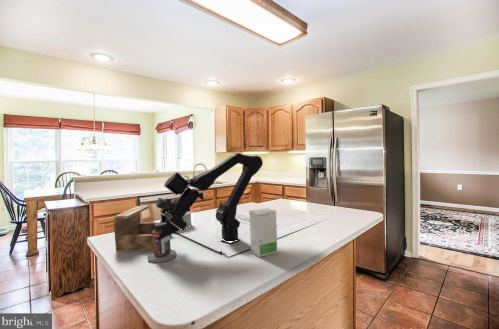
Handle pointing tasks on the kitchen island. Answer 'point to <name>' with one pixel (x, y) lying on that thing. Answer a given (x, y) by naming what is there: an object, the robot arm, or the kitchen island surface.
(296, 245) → the kitchen island surface
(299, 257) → the kitchen island surface
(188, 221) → the grey chunky block
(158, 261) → the slate coaster
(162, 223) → the supplement bottle
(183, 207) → the robot arm
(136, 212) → the walnut crate
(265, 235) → the skincare box
